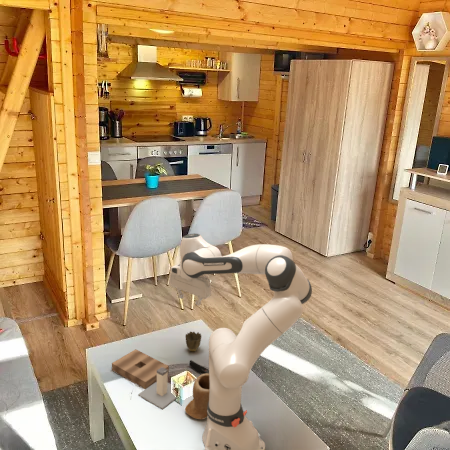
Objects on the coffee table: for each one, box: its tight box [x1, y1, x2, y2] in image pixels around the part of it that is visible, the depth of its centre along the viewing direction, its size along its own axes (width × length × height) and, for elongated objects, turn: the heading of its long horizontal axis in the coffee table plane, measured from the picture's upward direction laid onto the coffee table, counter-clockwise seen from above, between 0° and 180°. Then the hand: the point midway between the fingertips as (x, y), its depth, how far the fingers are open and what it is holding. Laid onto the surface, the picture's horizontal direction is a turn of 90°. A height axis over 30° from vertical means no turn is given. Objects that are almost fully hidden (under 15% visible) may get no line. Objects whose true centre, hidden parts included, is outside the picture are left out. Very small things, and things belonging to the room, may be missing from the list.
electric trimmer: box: [188, 359, 209, 375], centre depth 198 cm, size 4×16×3 cm, turn 48°
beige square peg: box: [157, 367, 169, 396], centre depth 182 cm, size 3×3×10 cm
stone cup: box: [184, 373, 210, 420], centre depth 174 cm, size 15×12×15 cm
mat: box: [137, 381, 178, 410], centre depth 184 cm, size 13×13×1 cm
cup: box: [185, 331, 202, 353], centre depth 213 cm, size 8×7×8 cm
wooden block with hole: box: [111, 349, 170, 390], centre depth 196 cm, size 20×14×4 cm
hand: (189, 301), depth 194 cm, fingers open, 8 cm apart
